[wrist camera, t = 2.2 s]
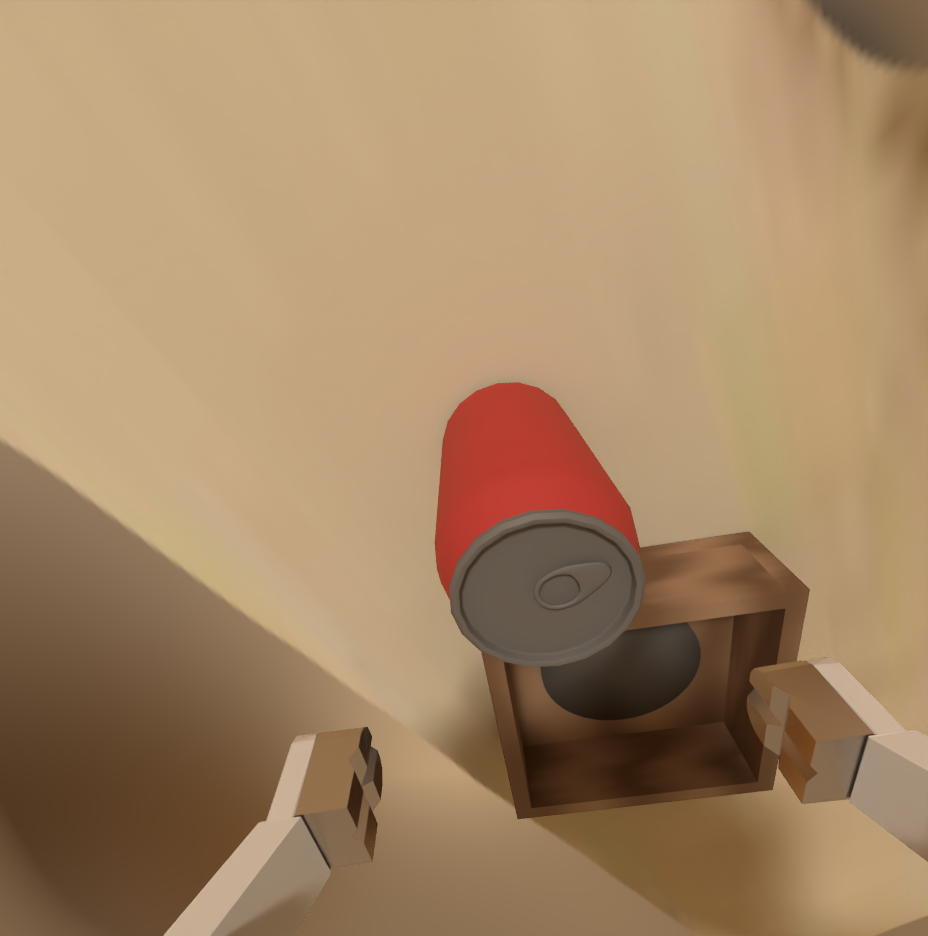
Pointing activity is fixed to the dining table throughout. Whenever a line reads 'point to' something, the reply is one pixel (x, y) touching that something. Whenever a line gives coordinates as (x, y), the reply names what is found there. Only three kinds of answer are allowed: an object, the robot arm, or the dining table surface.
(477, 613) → the beer can
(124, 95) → the dining table surface
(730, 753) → the walnut box
